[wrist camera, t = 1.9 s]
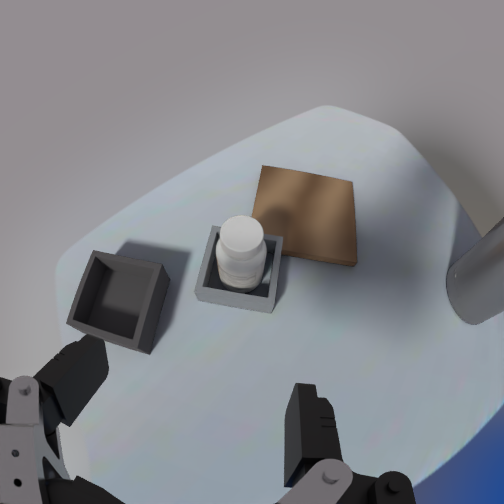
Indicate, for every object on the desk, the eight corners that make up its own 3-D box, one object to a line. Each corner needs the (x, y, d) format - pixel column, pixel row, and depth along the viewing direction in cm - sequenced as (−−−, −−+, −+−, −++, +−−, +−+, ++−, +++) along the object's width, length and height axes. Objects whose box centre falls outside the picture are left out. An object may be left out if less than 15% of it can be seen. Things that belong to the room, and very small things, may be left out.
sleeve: (279, 249, 30) (283, 236, 28) (271, 313, 27) (274, 305, 24) (214, 238, 30) (212, 225, 28) (198, 300, 27) (194, 291, 25)
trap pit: (170, 279, 28) (162, 264, 25) (149, 354, 24) (137, 348, 21) (106, 265, 28) (93, 250, 25) (83, 332, 24) (66, 323, 21)
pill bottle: (235, 248, 30) (234, 201, 23) (270, 268, 29) (280, 226, 22) (210, 279, 28) (201, 238, 21) (247, 302, 27) (250, 267, 20)
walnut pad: (349, 187, 35) (352, 182, 34) (353, 266, 29) (356, 262, 28) (261, 170, 36) (262, 165, 35) (245, 248, 30) (246, 243, 29)
